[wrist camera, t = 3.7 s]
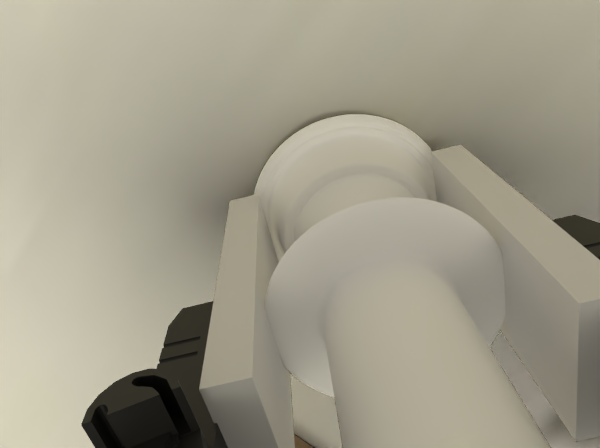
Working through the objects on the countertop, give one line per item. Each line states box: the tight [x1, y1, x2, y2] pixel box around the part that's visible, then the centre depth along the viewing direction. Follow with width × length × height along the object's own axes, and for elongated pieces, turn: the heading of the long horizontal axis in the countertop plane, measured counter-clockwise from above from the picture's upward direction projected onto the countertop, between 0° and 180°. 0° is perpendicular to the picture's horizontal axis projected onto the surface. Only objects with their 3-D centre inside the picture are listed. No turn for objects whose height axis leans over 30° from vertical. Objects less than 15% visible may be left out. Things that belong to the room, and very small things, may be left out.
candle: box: [254, 114, 551, 448], centre depth 8 cm, size 5×5×12 cm
